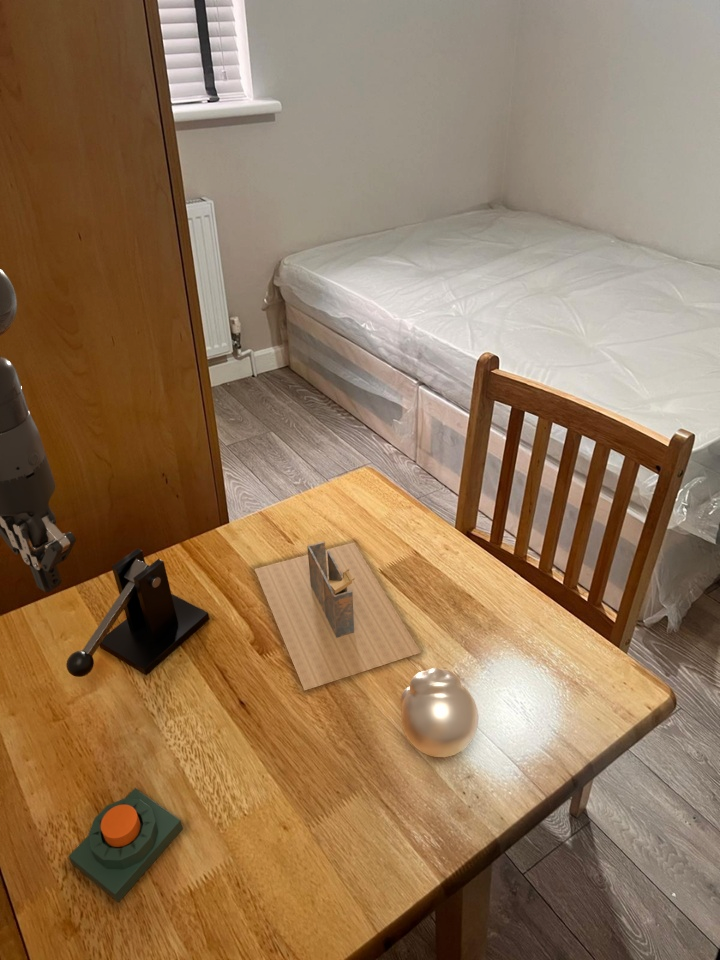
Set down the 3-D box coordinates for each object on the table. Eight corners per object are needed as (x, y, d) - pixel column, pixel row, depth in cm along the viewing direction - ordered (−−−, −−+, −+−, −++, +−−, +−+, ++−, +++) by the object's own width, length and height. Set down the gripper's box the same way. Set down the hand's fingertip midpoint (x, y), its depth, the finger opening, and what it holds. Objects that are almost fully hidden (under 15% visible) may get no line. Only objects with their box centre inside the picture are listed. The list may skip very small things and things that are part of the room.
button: (121, 854, 73) (117, 844, 72) (96, 835, 74) (92, 826, 73) (147, 825, 75) (144, 815, 74) (124, 807, 77) (120, 797, 76)
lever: (88, 684, 91) (73, 677, 88) (71, 673, 92) (56, 666, 90) (161, 574, 96) (148, 564, 94) (144, 565, 98) (131, 555, 95)
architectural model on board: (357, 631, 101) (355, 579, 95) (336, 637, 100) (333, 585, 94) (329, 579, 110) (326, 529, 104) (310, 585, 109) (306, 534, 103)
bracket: (146, 675, 95) (126, 605, 88) (100, 648, 99) (77, 578, 92) (209, 619, 103) (195, 550, 96) (164, 595, 108) (147, 527, 100)
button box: (118, 903, 72) (110, 885, 70) (72, 864, 75) (63, 846, 73) (183, 828, 78) (178, 810, 76) (138, 796, 81) (131, 777, 79)
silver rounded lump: (475, 707, 90) (480, 651, 84) (476, 776, 82) (482, 720, 77) (401, 701, 91) (402, 646, 85) (396, 769, 83) (396, 713, 78)
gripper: (-68, 457, 74) (-14, 584, 84) (12, 497, 68) (60, 629, 78) (-2, 425, 79) (41, 548, 89) (78, 459, 73) (115, 588, 83)
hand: (50, 586), depth 83 cm, fingers closed
